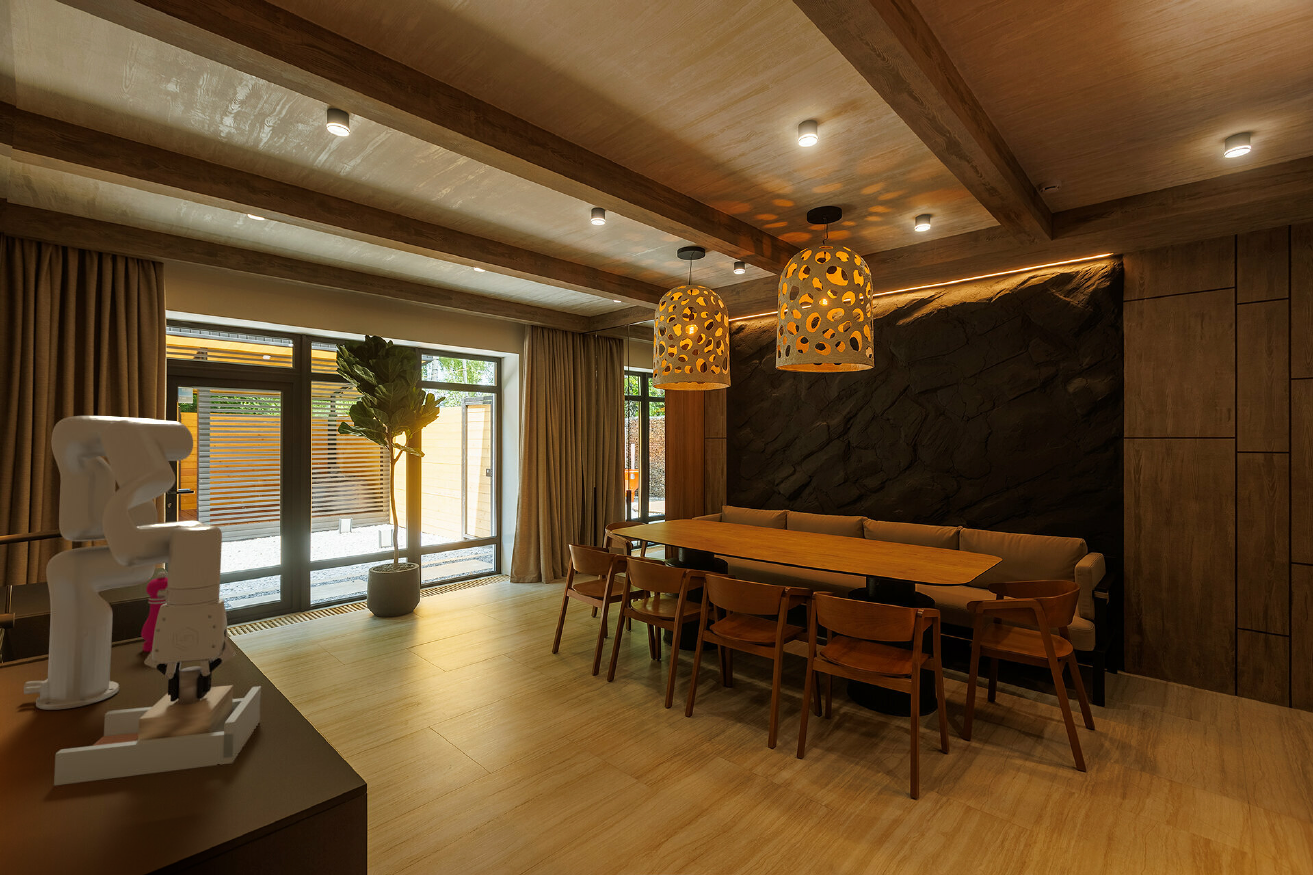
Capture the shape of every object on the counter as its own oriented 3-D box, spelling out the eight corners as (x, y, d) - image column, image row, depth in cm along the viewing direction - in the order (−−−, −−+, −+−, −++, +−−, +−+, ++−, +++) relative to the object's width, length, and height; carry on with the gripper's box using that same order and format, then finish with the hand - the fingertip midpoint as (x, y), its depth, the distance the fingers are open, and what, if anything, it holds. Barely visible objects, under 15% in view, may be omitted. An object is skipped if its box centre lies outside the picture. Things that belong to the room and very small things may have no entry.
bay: (54, 785, 95) (56, 740, 95) (107, 738, 110) (109, 699, 110) (232, 762, 103) (234, 721, 103) (259, 721, 118) (261, 686, 118)
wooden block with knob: (137, 760, 100) (140, 685, 100) (168, 728, 111) (171, 660, 111) (208, 752, 103) (211, 679, 103) (231, 721, 115) (234, 655, 115)
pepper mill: (155, 653, 153) (159, 575, 153) (133, 651, 154) (136, 573, 155) (183, 644, 160) (186, 569, 160) (161, 642, 161) (164, 568, 162)
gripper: (127, 602, 101) (122, 711, 101) (240, 597, 107) (236, 700, 107) (147, 592, 108) (142, 694, 108) (253, 587, 114) (249, 684, 114)
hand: (189, 696), depth 107 cm, fingers closed on wooden block with knob, 3 cm apart
